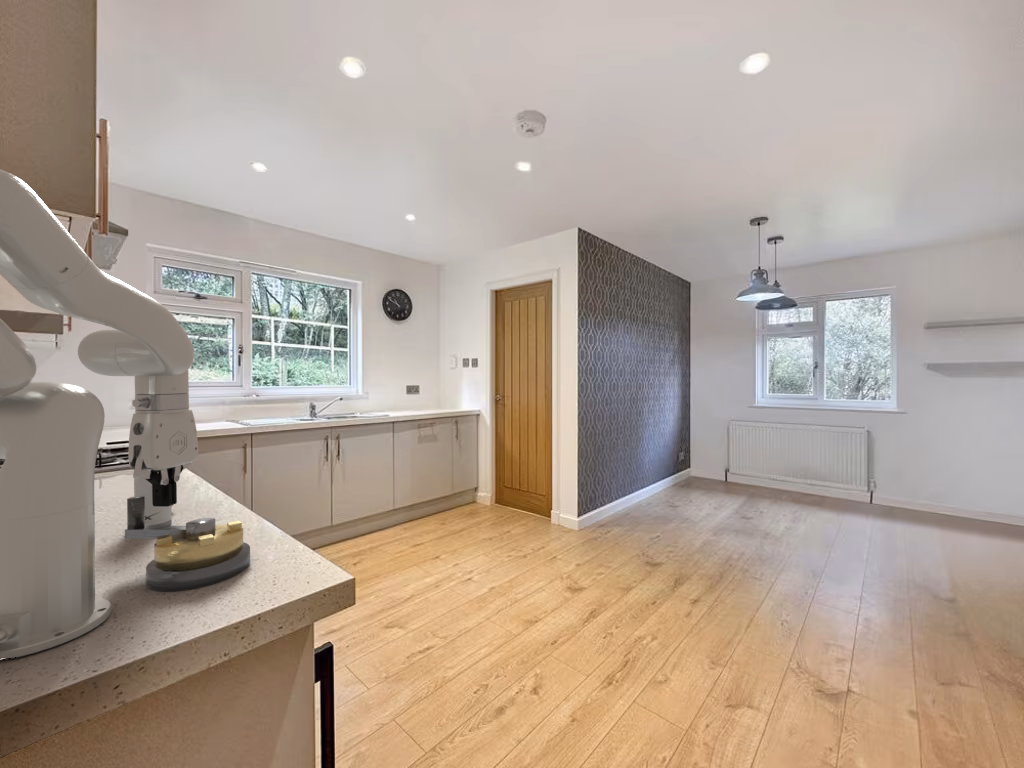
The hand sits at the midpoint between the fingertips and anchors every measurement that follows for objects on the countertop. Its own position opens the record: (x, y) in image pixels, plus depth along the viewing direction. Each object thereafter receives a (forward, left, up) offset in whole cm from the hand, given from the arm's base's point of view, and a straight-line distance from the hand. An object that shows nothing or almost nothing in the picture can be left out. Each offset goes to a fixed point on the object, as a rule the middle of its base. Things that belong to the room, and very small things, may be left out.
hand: (164, 504), depth 77 cm
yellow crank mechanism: (-6, -8, -7) cm, 12 cm away
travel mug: (+17, +15, -10) cm, 25 cm away
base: (-6, -11, -10) cm, 15 cm away
